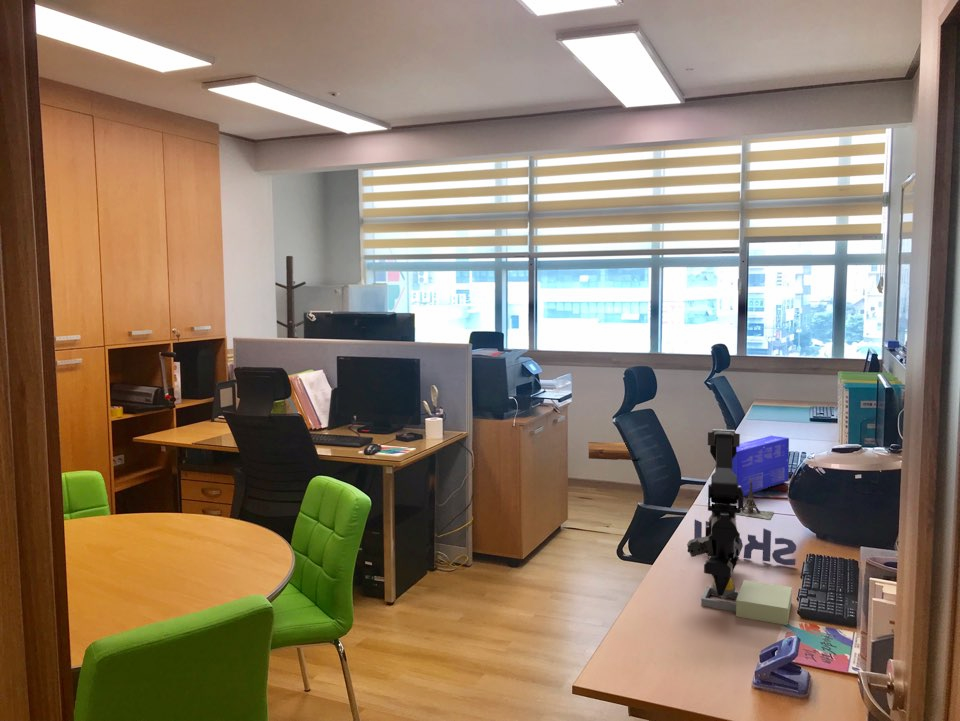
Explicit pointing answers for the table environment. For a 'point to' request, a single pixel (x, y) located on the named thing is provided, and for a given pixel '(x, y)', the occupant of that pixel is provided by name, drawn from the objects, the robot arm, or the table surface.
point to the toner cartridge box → (761, 463)
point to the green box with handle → (755, 601)
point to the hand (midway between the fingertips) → (722, 590)
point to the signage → (759, 545)
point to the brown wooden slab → (608, 451)
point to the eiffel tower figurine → (751, 504)
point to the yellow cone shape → (729, 589)
